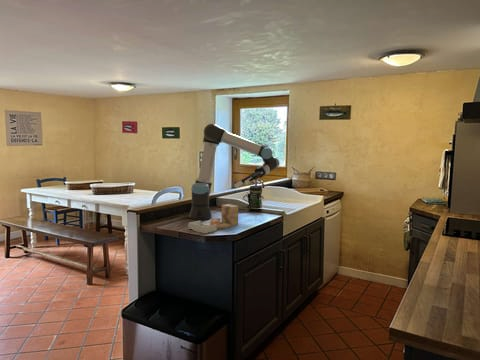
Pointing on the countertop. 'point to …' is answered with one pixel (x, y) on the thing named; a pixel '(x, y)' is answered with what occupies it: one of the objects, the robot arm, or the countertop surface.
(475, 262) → the countertop surface
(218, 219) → the tile
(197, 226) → the beige rounded slab
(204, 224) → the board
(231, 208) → the block
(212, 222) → the tile
